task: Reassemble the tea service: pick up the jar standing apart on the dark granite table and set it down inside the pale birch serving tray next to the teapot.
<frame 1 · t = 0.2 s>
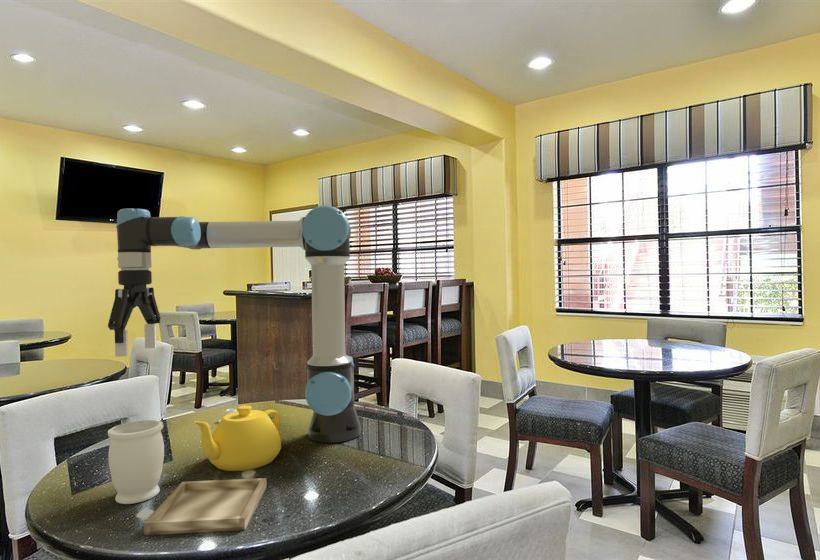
hand: (137, 352, 127), 28 cm above the table, fingers open, 13 cm apart
teapot: (241, 462, 125), on the table
jar: (138, 496, 106), on the table
tray: (211, 509, 99), on the table
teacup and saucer: (235, 424, 158), on the table
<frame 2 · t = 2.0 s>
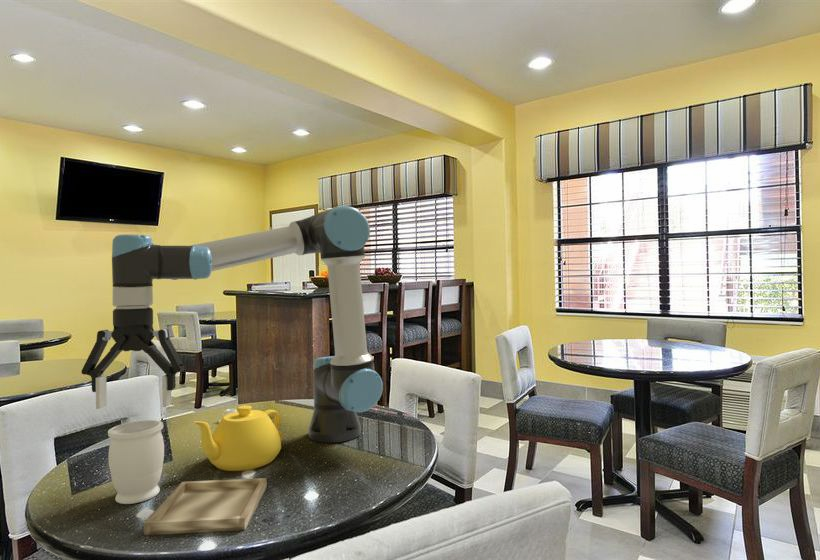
hand: (134, 406, 106), 19 cm above the table, fingers open, 13 cm apart
nothing on the table moved.
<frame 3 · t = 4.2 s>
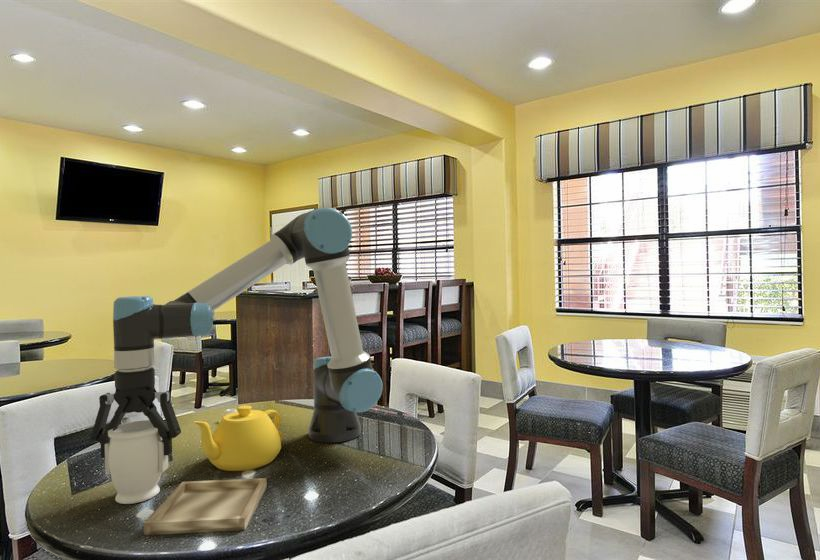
hand: (137, 471, 106), 5 cm above the table, fingers closed on jar, 10 cm apart
jar: (138, 496, 106), on the table, touching gripper
everything else where it was.
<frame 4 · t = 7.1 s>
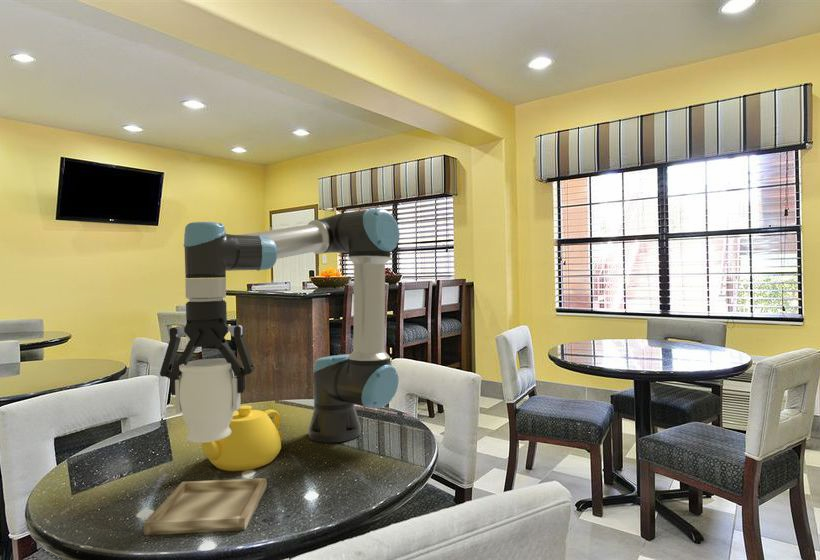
hand: (208, 410, 99), 20 cm above the table, fingers closed on jar, 10 cm apart
jar: (209, 437, 99), point 15 cm above the table, touching gripper
everything else where it was.
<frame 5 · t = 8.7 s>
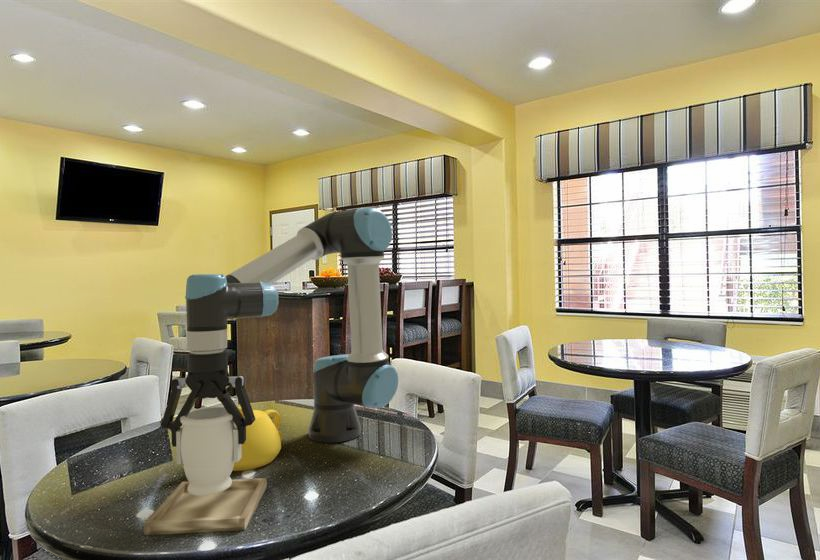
hand: (209, 460, 99), 10 cm above the table, fingers closed on jar, 10 cm apart
jar: (210, 488, 99), point 4 cm above the table, touching gripper
everything else where it was.
when the fingers open (7 cm above the table, at t = 10.3 s): jar drops 1 cm, resting on tray.
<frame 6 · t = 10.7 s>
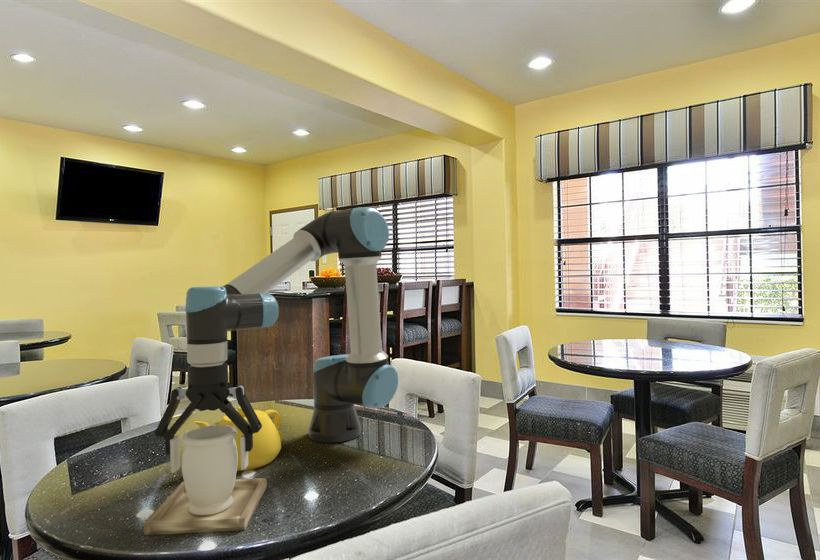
hand: (210, 468, 99), 8 cm above the table, fingers open, 13 cm apart
jar: (211, 507, 99), resting on tray
everything else where it was.
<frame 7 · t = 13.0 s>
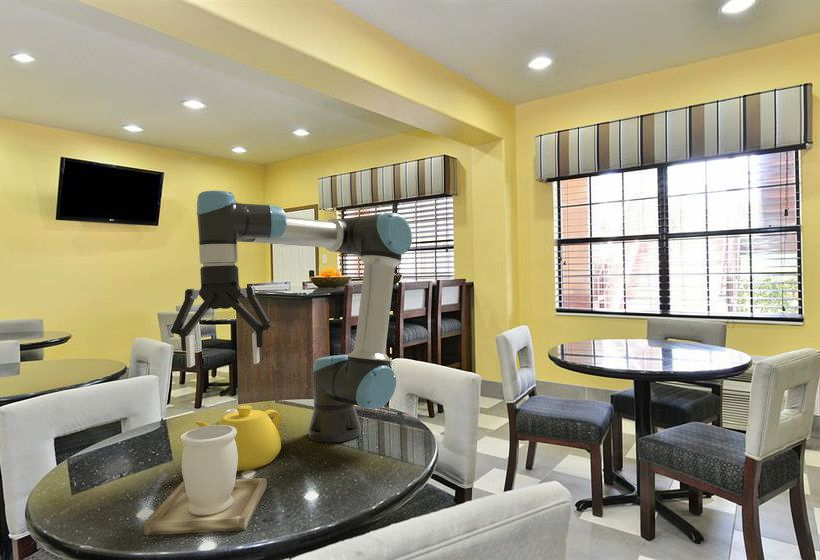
hand: (224, 364, 105), 28 cm above the table, fingers open, 13 cm apart
nothing on the table moved.
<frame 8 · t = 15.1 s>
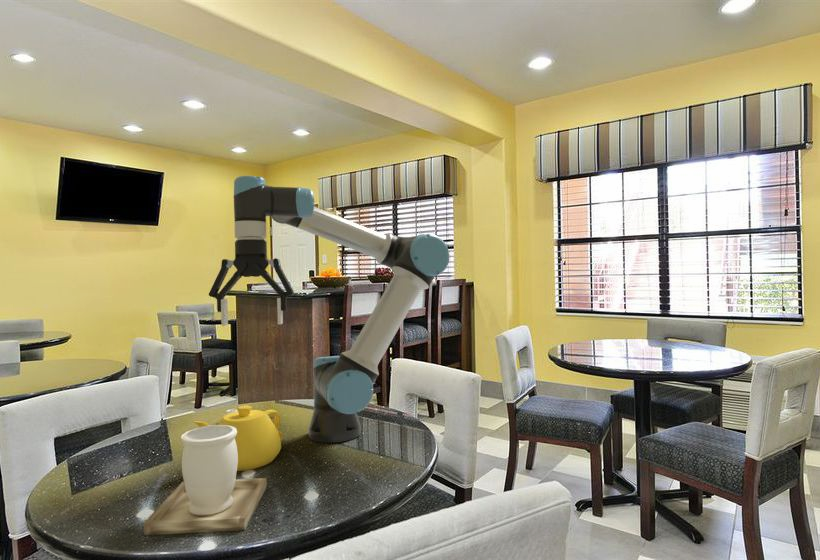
hand: (252, 324, 123), 35 cm above the table, fingers open, 13 cm apart
at the end: jar inside the target area on the tray (0.1 cm from its centre), point 0.4 cm above the tray's base; jar tilted 0°; the gripper is holding nothing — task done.
